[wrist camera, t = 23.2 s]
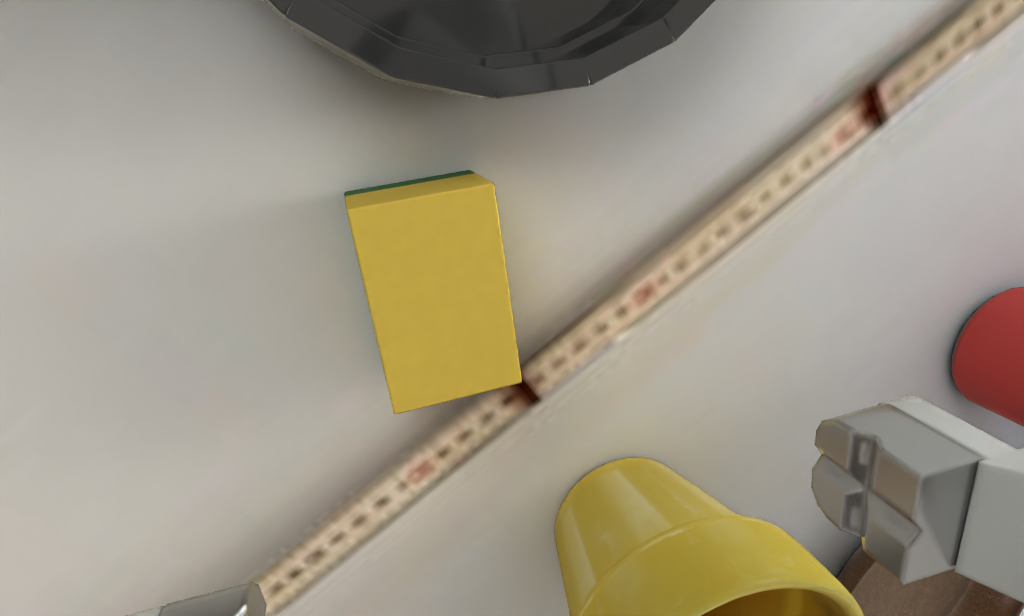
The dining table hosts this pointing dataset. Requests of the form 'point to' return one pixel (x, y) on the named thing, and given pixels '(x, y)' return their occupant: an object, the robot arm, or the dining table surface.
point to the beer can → (993, 356)
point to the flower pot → (681, 552)
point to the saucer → (921, 593)
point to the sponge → (436, 287)
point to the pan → (491, 39)
